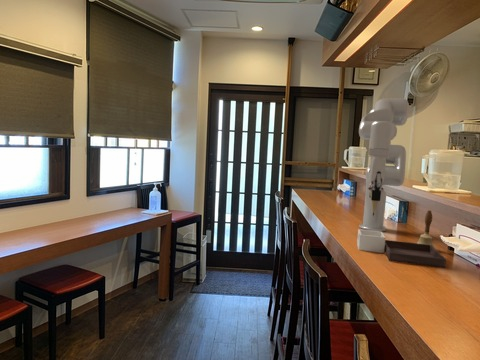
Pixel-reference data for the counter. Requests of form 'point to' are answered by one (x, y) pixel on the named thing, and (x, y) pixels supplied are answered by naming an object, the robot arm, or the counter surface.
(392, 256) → the tray
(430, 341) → the counter surface
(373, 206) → the ice cream cone
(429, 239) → the hand bell
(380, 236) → the frame
